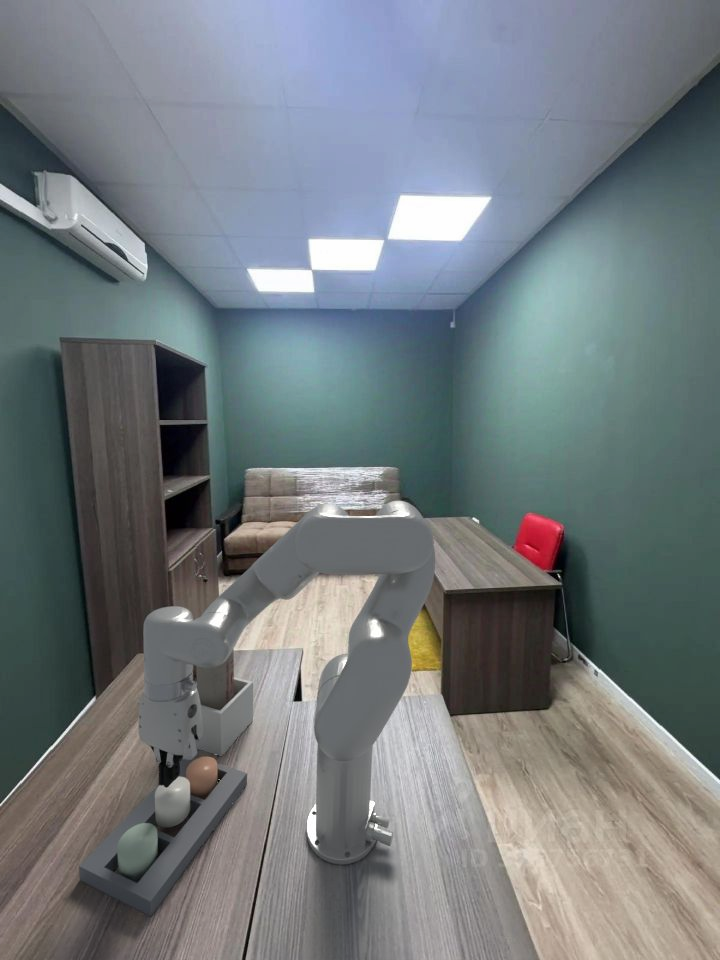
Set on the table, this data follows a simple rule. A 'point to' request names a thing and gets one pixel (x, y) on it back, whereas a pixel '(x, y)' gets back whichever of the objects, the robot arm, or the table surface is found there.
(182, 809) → the cream egg
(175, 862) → the pebble holder tray
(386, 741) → the table surface
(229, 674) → the thermos bottle
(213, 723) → the grey open box
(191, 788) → the terracotta egg
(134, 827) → the sage egg
